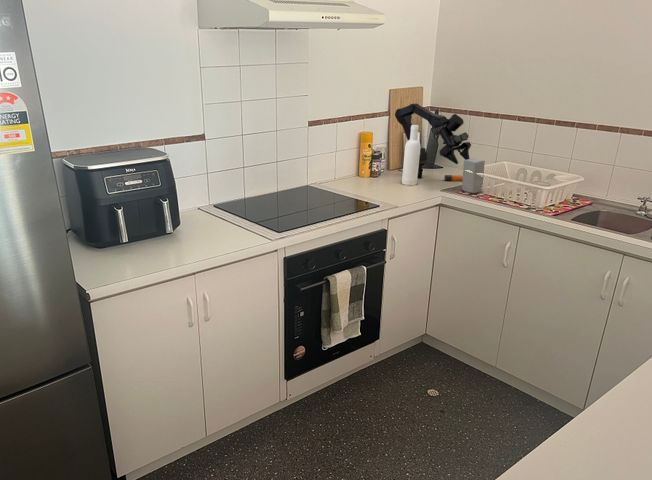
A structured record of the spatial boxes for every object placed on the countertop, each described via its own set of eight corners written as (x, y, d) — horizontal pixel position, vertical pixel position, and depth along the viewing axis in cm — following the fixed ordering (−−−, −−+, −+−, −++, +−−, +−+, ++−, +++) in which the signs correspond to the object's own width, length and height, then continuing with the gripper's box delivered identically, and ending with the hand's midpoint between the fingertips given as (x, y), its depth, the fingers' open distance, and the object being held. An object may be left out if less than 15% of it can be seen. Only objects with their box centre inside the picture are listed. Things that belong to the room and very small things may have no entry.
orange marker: (445, 181, 296) (446, 175, 295) (444, 179, 299) (444, 174, 297) (472, 181, 296) (473, 176, 295) (470, 179, 299) (471, 174, 297)
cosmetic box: (482, 192, 275) (487, 160, 269) (471, 194, 272) (475, 162, 266) (470, 188, 282) (474, 157, 276) (459, 189, 279) (463, 158, 273)
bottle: (418, 185, 287) (424, 126, 275) (403, 185, 287) (408, 126, 275) (415, 181, 295) (421, 124, 283) (400, 181, 295) (405, 124, 283)
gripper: (446, 128, 269) (462, 155, 265) (470, 125, 279) (486, 151, 275) (432, 142, 278) (447, 168, 274) (456, 139, 288) (470, 163, 284)
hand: (463, 162), depth 277 cm, fingers open, 9 cm apart
